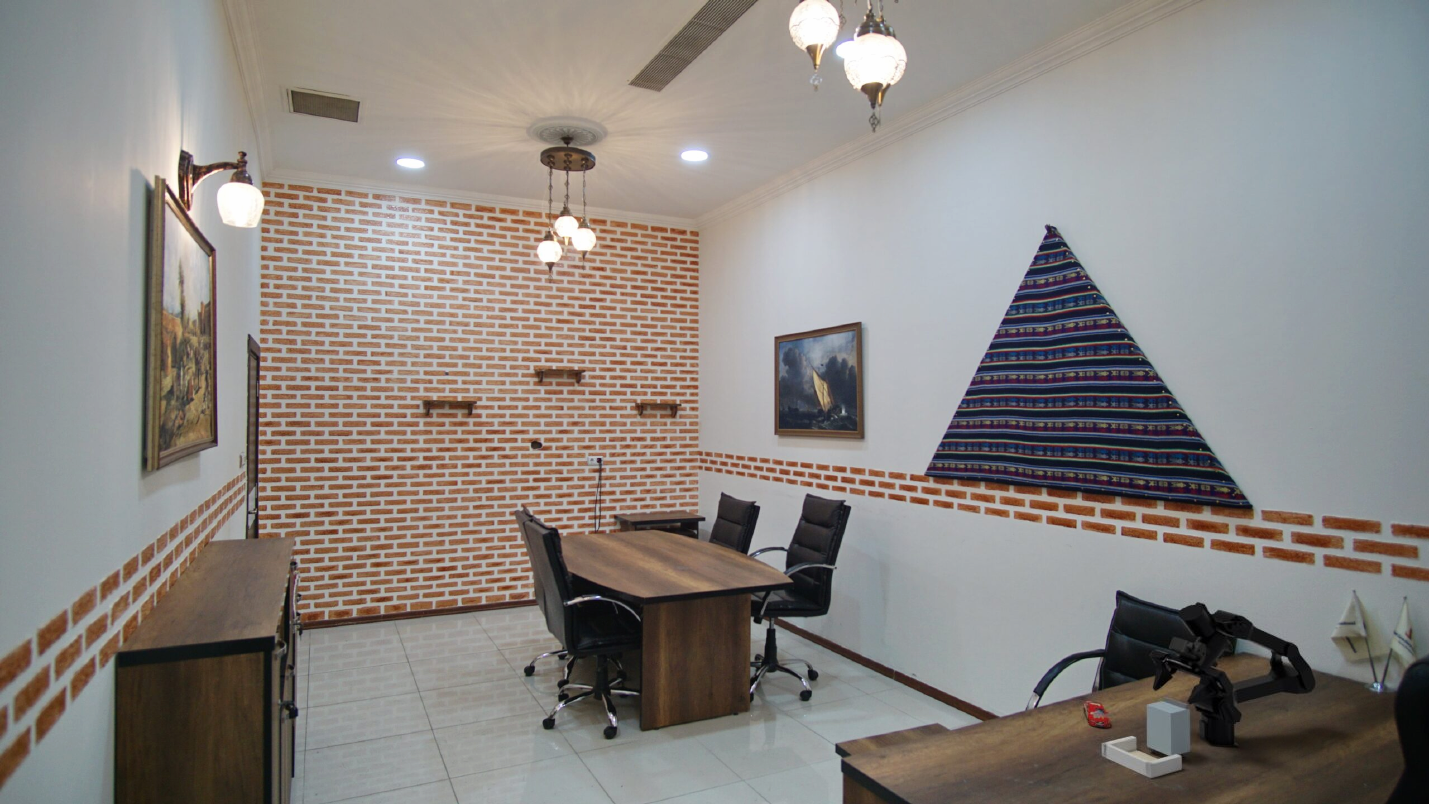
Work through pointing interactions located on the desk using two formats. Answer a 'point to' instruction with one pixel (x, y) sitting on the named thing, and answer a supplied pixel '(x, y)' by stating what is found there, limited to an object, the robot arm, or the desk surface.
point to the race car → (1096, 714)
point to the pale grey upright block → (1168, 727)
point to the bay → (1139, 758)
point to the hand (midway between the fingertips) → (1171, 696)
